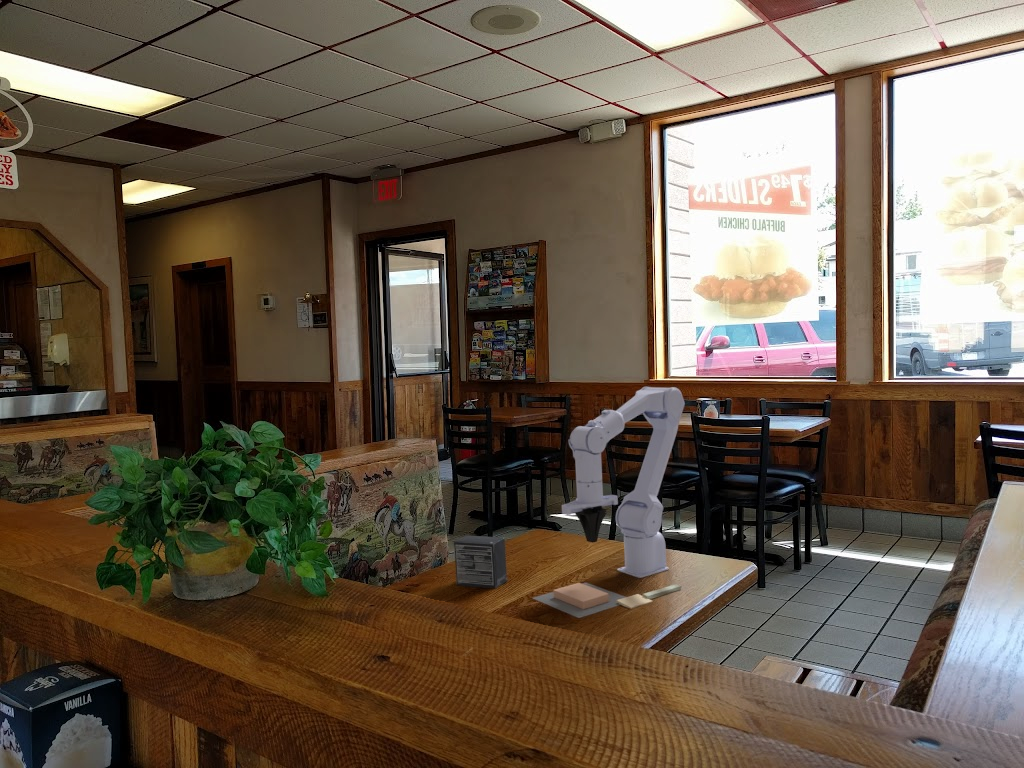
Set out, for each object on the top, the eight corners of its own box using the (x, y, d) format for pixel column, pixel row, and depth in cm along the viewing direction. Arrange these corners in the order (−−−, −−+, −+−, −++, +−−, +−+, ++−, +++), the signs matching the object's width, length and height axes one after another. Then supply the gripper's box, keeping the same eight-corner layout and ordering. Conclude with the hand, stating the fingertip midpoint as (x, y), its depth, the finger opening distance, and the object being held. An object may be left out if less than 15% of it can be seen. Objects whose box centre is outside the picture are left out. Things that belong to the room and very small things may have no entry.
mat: (585, 583, 177) (585, 582, 176) (634, 601, 163) (634, 600, 163) (531, 599, 168) (531, 597, 168) (579, 619, 155) (578, 617, 155)
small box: (508, 580, 182) (506, 536, 181) (496, 589, 176) (493, 544, 175) (468, 577, 186) (466, 533, 186) (455, 585, 180) (452, 541, 180)
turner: (671, 586, 171) (671, 581, 171) (686, 592, 167) (686, 588, 167) (616, 602, 162) (616, 597, 162) (631, 609, 158) (631, 605, 158)
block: (578, 582, 171) (553, 589, 168) (609, 593, 163) (583, 601, 159) (579, 590, 172) (553, 597, 168) (609, 601, 163) (583, 609, 159)
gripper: (602, 473, 180) (604, 532, 181) (552, 483, 172) (554, 544, 172) (623, 477, 174) (625, 537, 175) (572, 487, 166) (575, 550, 167)
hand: (591, 541), depth 173 cm, fingers closed
